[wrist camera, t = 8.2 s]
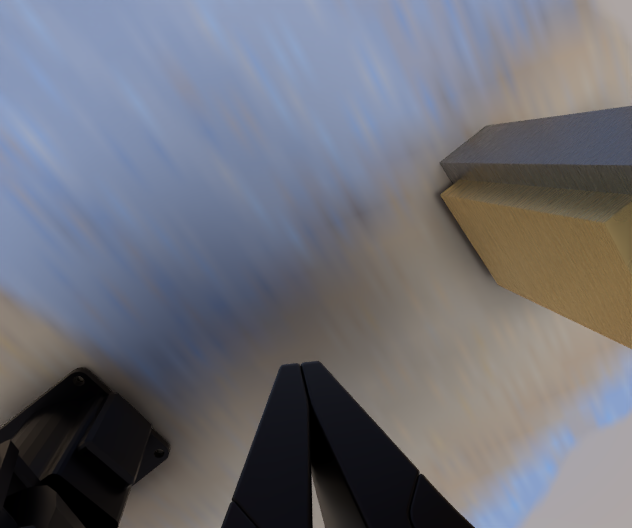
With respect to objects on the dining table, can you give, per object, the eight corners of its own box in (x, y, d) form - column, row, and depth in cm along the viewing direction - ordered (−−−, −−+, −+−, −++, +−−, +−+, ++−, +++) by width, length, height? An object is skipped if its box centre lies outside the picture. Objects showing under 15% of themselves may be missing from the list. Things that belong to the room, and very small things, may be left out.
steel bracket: (513, 279, 24) (802, 405, 12) (439, 162, 22) (702, 166, 10) (555, 246, 24) (890, 337, 12) (486, 125, 22) (810, 81, 10)
